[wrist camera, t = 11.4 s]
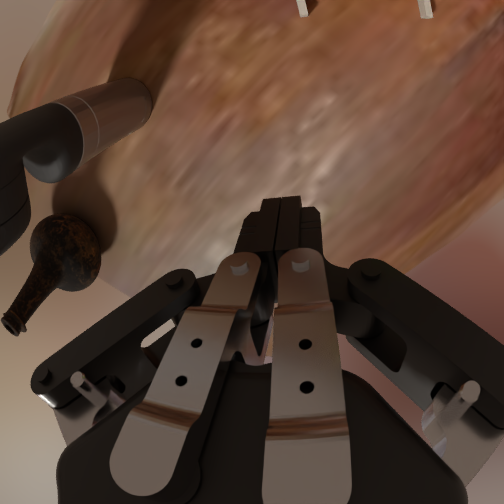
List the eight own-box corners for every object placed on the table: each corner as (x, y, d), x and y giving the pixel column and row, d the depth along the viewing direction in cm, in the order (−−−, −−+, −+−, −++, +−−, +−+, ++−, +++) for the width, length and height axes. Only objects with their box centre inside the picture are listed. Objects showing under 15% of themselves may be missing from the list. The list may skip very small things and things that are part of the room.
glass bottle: (42, 222, 59) (-29, 302, 37) (74, 187, 52) (-20, 279, 30) (87, 274, 67) (29, 361, 46) (126, 251, 60) (57, 358, 38)
